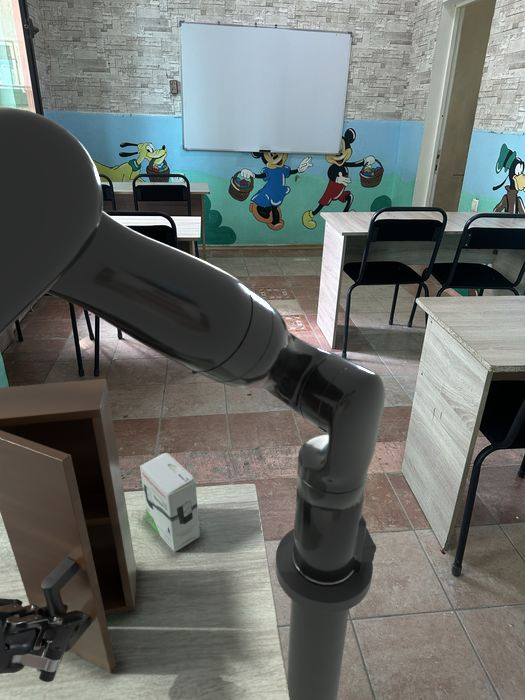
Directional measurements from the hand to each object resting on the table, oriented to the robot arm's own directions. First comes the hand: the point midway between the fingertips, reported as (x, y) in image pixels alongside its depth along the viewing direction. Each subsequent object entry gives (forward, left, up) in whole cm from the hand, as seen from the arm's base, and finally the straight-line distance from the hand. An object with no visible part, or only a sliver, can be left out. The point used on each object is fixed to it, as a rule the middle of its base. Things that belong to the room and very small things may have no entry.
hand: (69, 617), depth 51 cm
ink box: (-11, -21, -12) cm, 26 cm away
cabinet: (+1, -11, -11) cm, 16 cm away
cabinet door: (+3, -3, -11) cm, 12 cm away
